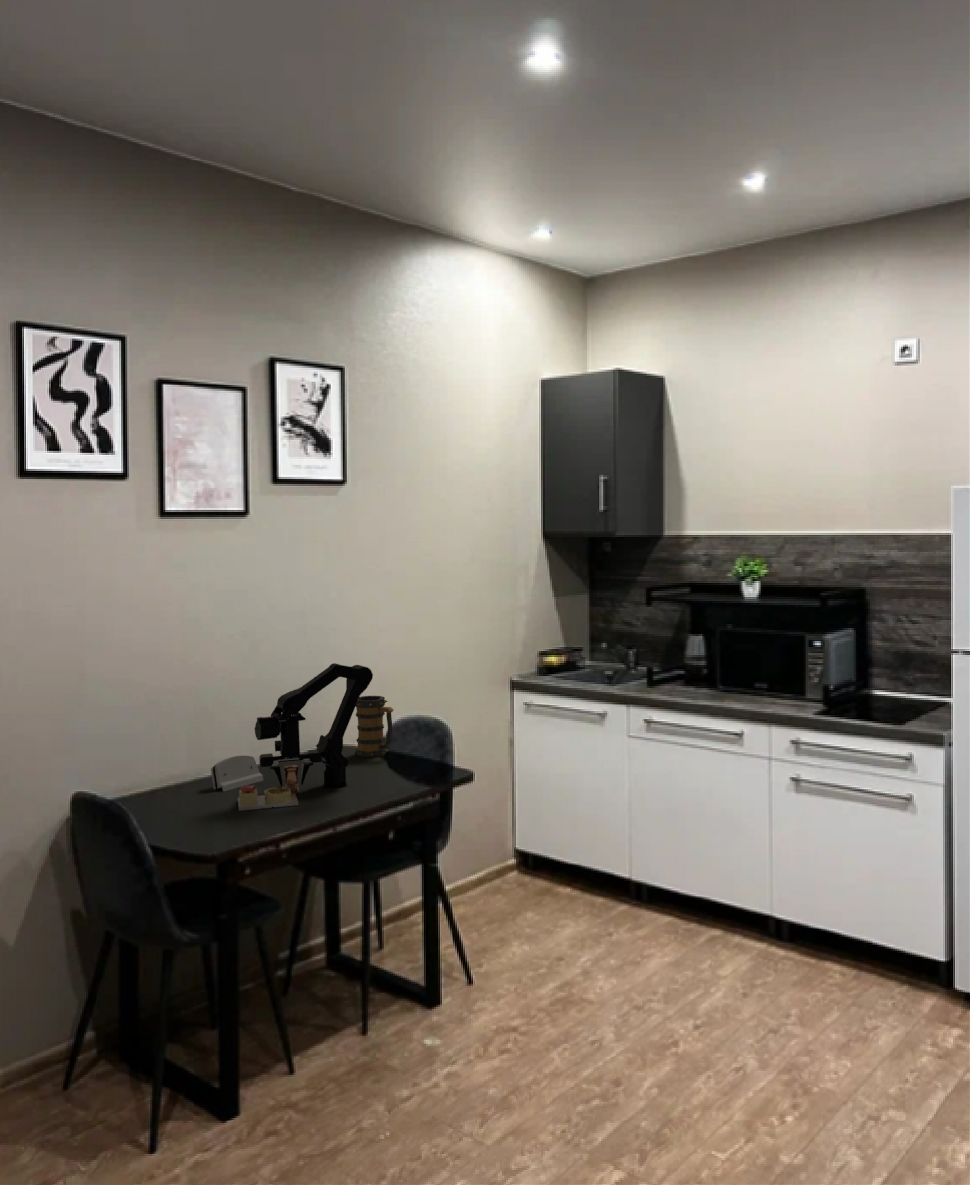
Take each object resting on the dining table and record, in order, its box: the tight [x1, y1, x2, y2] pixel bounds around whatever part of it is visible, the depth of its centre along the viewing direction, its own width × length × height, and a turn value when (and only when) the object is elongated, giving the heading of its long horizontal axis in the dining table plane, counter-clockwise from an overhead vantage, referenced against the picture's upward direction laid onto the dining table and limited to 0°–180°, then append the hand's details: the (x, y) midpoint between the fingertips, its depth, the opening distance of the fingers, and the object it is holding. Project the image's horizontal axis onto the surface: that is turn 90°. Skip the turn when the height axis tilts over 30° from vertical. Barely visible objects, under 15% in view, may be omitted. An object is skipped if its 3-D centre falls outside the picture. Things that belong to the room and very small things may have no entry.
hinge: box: [210, 755, 264, 792], centre depth 330 cm, size 17×5×10 cm, turn 142°
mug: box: [353, 695, 395, 758], centre depth 367 cm, size 13×17×20 cm
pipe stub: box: [283, 764, 300, 794], centre depth 319 cm, size 5×5×8 cm
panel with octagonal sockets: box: [237, 784, 299, 811], centre depth 307 cm, size 17×11×5 cm, turn 105°
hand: (291, 785), depth 319 cm, fingers open, 6 cm apart
